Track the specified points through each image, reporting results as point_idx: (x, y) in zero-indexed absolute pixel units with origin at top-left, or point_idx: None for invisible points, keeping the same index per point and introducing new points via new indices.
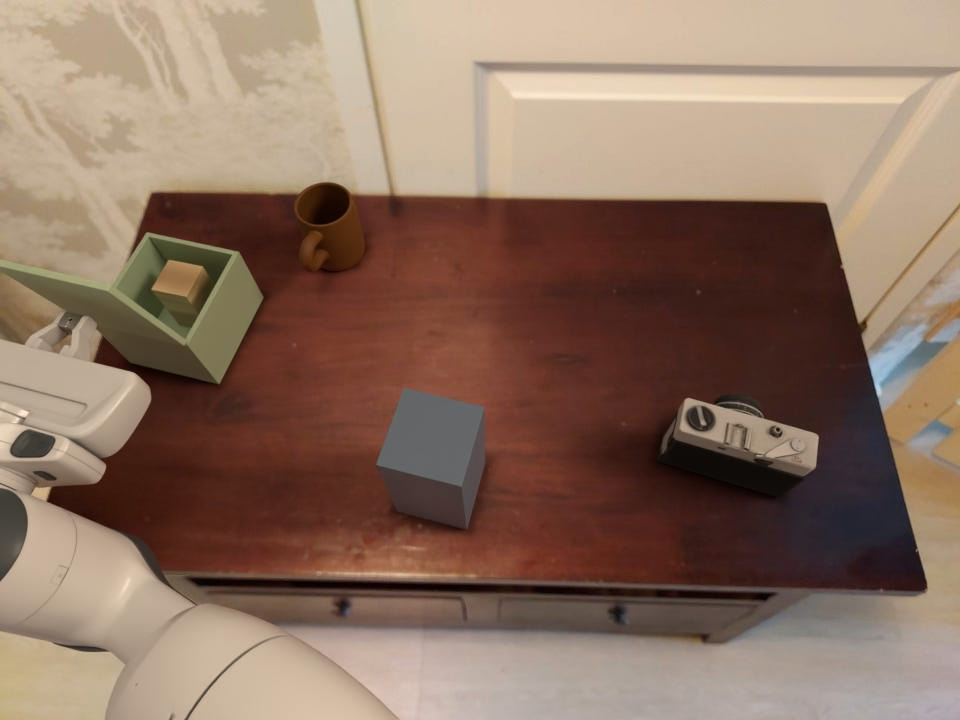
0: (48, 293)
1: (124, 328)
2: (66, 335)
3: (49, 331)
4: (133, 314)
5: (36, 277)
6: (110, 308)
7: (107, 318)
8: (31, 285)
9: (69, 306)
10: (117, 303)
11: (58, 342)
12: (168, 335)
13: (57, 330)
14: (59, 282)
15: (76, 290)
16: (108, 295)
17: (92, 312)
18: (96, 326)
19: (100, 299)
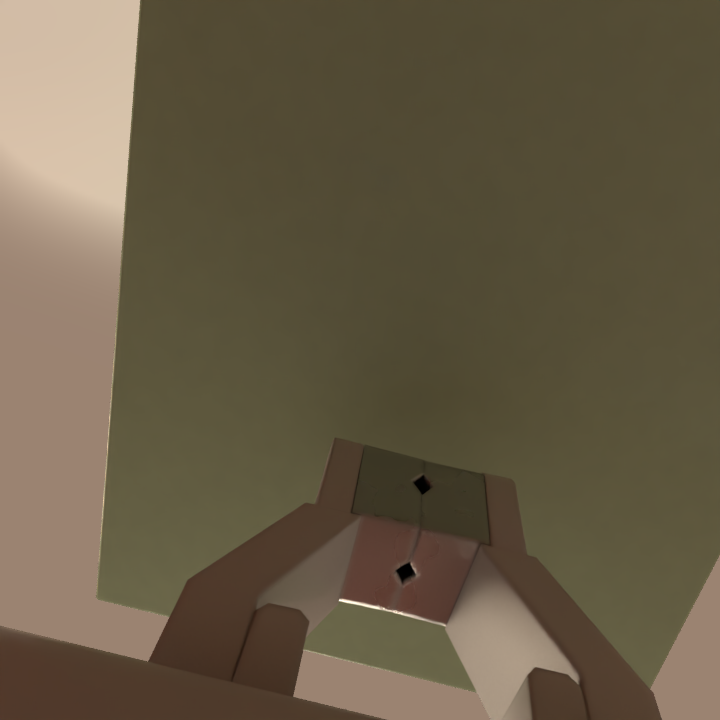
0: (621, 507)
1: (540, 59)
2: (480, 558)
3: (478, 680)
4: (164, 376)
5: (441, 657)
6: (282, 415)
7: (509, 234)
8: (629, 578)
9: (689, 353)
10: (155, 490)
11: (532, 609)
12: (143, 75)
13: (462, 628)
14: (331, 632)
15: None
16: (130, 562)
17: (552, 306)
18: (335, 440)
19: (237, 512)
